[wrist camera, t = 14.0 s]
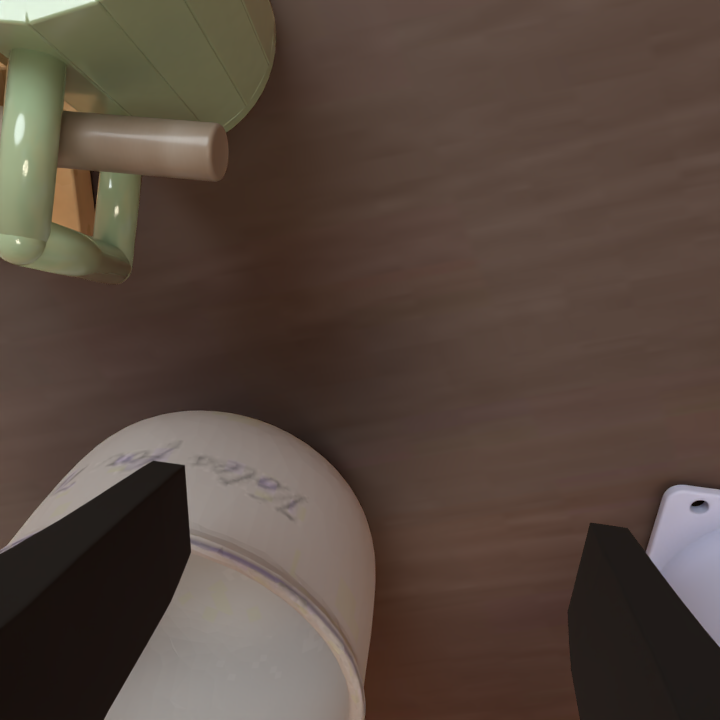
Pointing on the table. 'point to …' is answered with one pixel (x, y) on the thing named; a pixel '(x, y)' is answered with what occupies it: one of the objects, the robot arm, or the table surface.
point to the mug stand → (127, 155)
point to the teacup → (244, 574)
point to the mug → (112, 106)
